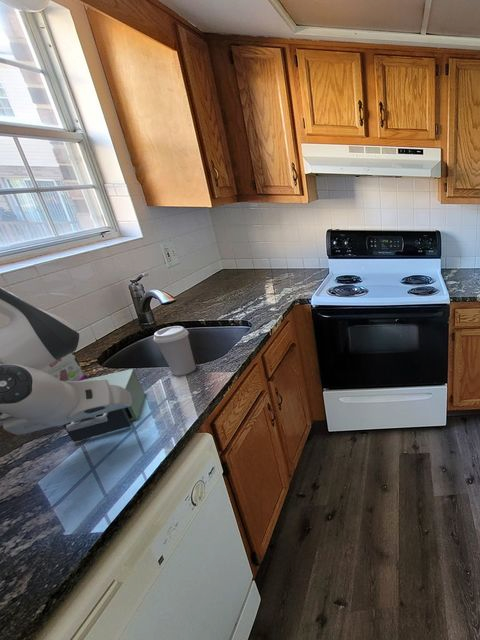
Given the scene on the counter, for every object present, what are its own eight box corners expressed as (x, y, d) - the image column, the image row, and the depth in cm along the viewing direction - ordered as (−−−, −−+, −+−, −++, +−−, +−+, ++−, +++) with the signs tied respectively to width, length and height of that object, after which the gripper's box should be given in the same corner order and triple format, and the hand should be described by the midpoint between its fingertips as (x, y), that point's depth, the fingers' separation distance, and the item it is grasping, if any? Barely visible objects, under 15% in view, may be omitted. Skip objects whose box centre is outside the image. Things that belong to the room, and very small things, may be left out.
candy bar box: (80, 393, 113) (54, 346, 106) (96, 393, 113) (71, 346, 106) (44, 416, 103) (12, 365, 96) (61, 415, 103) (31, 365, 96)
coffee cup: (188, 362, 130) (173, 323, 124) (207, 366, 127) (193, 326, 121) (161, 375, 122) (143, 335, 115) (181, 379, 119) (164, 338, 112)
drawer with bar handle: (127, 437, 92) (115, 413, 89) (67, 454, 87) (52, 430, 84) (138, 401, 107) (128, 380, 103) (87, 414, 101) (75, 392, 98)
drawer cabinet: (137, 419, 100) (124, 391, 96) (77, 436, 94) (60, 407, 91) (145, 394, 112) (133, 368, 108) (91, 407, 106) (77, 381, 102)
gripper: (-15, 436, 71) (30, 445, 83) (118, 402, 80) (142, 415, 92) (-17, 406, 73) (28, 419, 85) (114, 376, 82) (137, 392, 94)
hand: (88, 417), depth 89 cm, fingers closed, pressing on drawer with bar handle
